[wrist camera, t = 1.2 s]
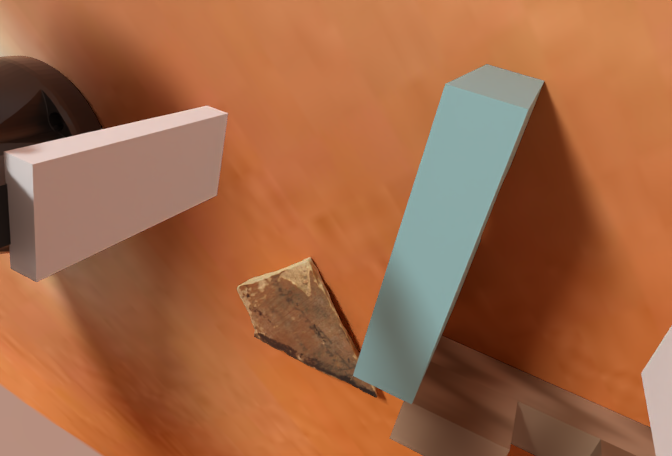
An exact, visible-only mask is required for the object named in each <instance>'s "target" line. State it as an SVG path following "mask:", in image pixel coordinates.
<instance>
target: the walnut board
mask: <svg viewBox="0 0 672 456" xmlns="http://www.w3.org/2000/svg"><path fill="white" fill-rule="evenodd" d="M390 439H392V440H394V441H396V442H398V443H400V444H402V445H404V446H406V447H408V448H410V449H412V450H413V451H415V452H417V453H419V454H421V455H423V456H507V454H508V453H509V451H510V446H511V444H513V445H515V446H517V447H519V448H521V449H523V450H525V451H527V452H529V453H531V454H533V455H535V456H656V454H655V448H654V443H653V437H652V431H651V428H650V427H648V426H645V425H643V424H641V423H639V422H636V421H634V420H632V419H630V418H627V417H625V416H623V415H620V414H618V413H616V412H614V411H611V410H609V409H607V408H605V407H602V406H600V405H598V404H596V403H593V402H591V401H589V400H587V399H584V398H582V397H580V396H577V395H575V394H573V393H571V392H568V391H566V390H564V389H562V388H559V387H557V386H555V385H553V384H550V383H548V382H546V381H544V380H541V379H539V378H537V377H534V376H532V375H530V374H528V373H525V372H523V371H521V370H519V369H516V368H514V367H512V366H510V365H507V364H505V363H503V362H501V361H498V360H496V359H494V358H491V357H489V356H487V355H485V354H482V353H480V352H478V351H476V350H473V349H471V348H469V347H467V346H464V345H462V344H460V343H458V342H455V341H453V340H451V339H448V338H446V337H444V336H441V338H440V340H439V343H438V345H437V347H436V350H435V352H434V354H433V356H432V359H431V361H430V363H429V366H428V368H427V370H426V373H425V375H424V377H423V380H422V382H421V384H420V386H419V389H418V391H417V393H416V396H415V398H414V400H413V403H412V404H410V403H408V402H406V401H404V402H403V405H402V407H401V410H400V413H399V415H398V418H397V420H396V423H395V425H394V428H393V431H392V433H391V436H390Z"/></svg>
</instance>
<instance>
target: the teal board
mask: <svg viewBox="0 0 672 456" xmlns="http://www.w3.org/2000/svg"><path fill="white" fill-rule="evenodd" d="M543 83H544V81H543V80H539V79H536V78H532V77H529V76H525V75H522V74H519V73H515V72H512V71H508V70H505V69H501V68H498V67H494V66H491V65H488V64H486V65H484V66H482V67H480V68H478V69H476V70H474V71H472V72H470V73H467V74H465V75H463V76H461V77H459V78H457V79H455V80H453V81H451V82H448V83H446V84H445V87H444V90H443V93H442V96H441V100H440V103H439V106H438V109H437V112H436V115H435V119H434V122H433V125H432V128H431V131H430V134H429V137H428V141H427V144H426V147H425V150H424V153H423V156H422V160H421V163H420V166H419V169H418V172H417V175H416V178H415V182H414V185H413V188H412V191H411V194H410V197H409V200H408V204H407V207H406V210H405V213H404V216H403V219H402V223H401V226H400V229H399V232H398V235H397V238H396V241H395V245H394V248H393V251H392V254H391V257H390V260H389V263H388V267H387V270H386V273H385V276H384V279H383V282H382V286H381V289H380V292H379V295H378V298H377V301H376V304H375V308H374V311H373V314H372V317H371V320H370V323H369V327H368V330H367V333H366V336H365V339H364V342H363V345H362V349H361V352H360V355H359V358H358V361H357V364H356V367H355V371H354V374H353V376H354V377H356V378H358V379H360V380H362V381H364V382H367V383H369V384H371V385H373V386H375V387H377V388H379V389H381V390H383V391H385V392H387V393H389V394H391V395H393V396H395V397H397V398H399V399H401V400H404V401H406V402H408V403H410V404H412V403H413V400H414V398H415V396H416V393H417V391H418V389H419V386H420V384H421V382H422V380H423V377H424V375H425V373H426V370H427V368H428V366H429V363H430V361H431V359H432V356H433V354H434V352H435V350H436V347H437V345H438V343H439V340H440V338H441V336H442V333H443V331H444V329H445V326H446V324H447V322H448V320H449V317H450V315H451V313H452V310H453V308H454V306H455V303H456V301H457V298H458V296H459V293H460V291H461V288H462V286H463V283H464V281H465V278H466V276H467V273H468V271H469V268H470V266H471V263H472V261H473V258H474V256H475V253H476V251H477V248H478V246H479V243H480V241H481V239H480V238H481V236H482V233H483V231H484V228H485V226H486V223H487V221H488V218H489V216H490V213H491V211H492V208H493V206H494V203H495V201H496V198H497V195H498V193H499V190H500V188H501V185H502V183H503V181H504V179H505V177H506V175H507V172H508V170H509V168H510V166H511V163H512V161H513V158H514V156H515V153H516V151H517V148H518V146H519V143H520V141H521V138H522V136H523V133H524V131H525V128H526V126H527V123H528V121H529V118H530V116H531V113H532V111H533V108H534V106H535V103H536V101H537V98H538V96H539V93H540V91H541V88H542V86H543Z"/></svg>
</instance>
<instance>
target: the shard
mask: <svg viewBox="0 0 672 456" xmlns="http://www.w3.org/2000/svg"><path fill="white" fill-rule="evenodd" d="M237 291H238V293H239V295H240V298H241V299H242V301H243V303H244V305H245V307H246V309H247V310H248V312H249V315H250V317H251V321H252V323H253V327H254V329H255V333H254V337H256V338H258V339H260V340H261V341H262V342H264V343H267V344H268V345H270V346H271V347H273V348H275V349H277V350H281V351H284V352H285V353H286V354H288V355H289V356H291V357H293V358H295V359H297V360H299V361H301V362H303V363H304V364H306V365H308V366H310V367H312V368H315V369H317V370H319V371H321V372H323V373H325V374H327V375H330V376H332V377H335V378H337V379H339V380H342V381H345V382H347V383H349V384H352V385H353V386H354V387H356V388H359V389H360V390H362V391H363V392H365V393H368V394H370V395H372V396H374V397H378V395H377V389H376V387H375V386H373V385H371V384H369V383H367V382H364V381H362V380H360V379H358V378H356V377H354V376H353V374H354V371H355V367H356V364H357V361H358V358H359V355H360V353H359V352H358V350H357V349H356V347H355V345H354V343H353V341H352V339H351V337H350V336H349V334H348V332H347V330H346V328H345V327H344V326H343V324H342V322H341V320H340V318H339V316H338V314H337V312H336V309H335V307H334V305H333V303H332V301H331V299H330V295H329V292H328V291H327V289H326V288H325V285H324V283H323V281H322V279H321V276H320V274H319V270H318V268H317V267H316V266H315V265H314V263H313V261H312V258H311V257H309V258H307V259H304V260H302V261H300V262H298V263H295V264H293V265H290V266H288V267H286V268H283V269H280V270H278V271H275V272H270V273H266V274H264V275H261V276H258V277H253V278H251V279H249V280H248V281H246V282H244V283H242V284H240V285H239V286H238V287H237Z"/></svg>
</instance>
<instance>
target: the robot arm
mask: <svg viewBox="0 0 672 456" xmlns="http://www.w3.org/2000/svg"><path fill="white" fill-rule="evenodd" d="M227 117H228V113H226V112H223V111H220V110H218V109H215V108H212V107H209V106H203V107H199V108H194V109H190V110H185V111H181V112H177V113H172V114H168V115H163V116H159V117H154V118H150V119H146V120H141V121H137V122H132V123H128V124H124V125H119V126H115V127H110V128H106V129H101V126H100V124H99V122H98V120H97V118H96V116H95V114H94V113H93V111H92V109H91V107H90V106H89V104H88V103H87V101H86V100H85V98H84V97H83V96H82V94H81V93H80V92H79V91H78V90H77V88H76V87H75V86H74V85H73V84H72V83H71V82H70V81H69V80H68V79H67V78H66V77H65V76H64V75H62V74H61V73H60V72H59V71H57V70H56V69H54V68H53V67H51V66H50V65H48V64H46V63H44V62H42V61H40V60H37V59H34V58H31V57H26V56H6V57H0V254H4V253H10V264H11V269H13V270H15V271H16V272H18V273H20V274H22V275H24V276H26V277H28V278H30V279H32V280H33V281H35V282H38V281H40V280H42V279H44V278H46V277H48V276H50V275H52V274H54V273H57V272H59V271H61V270H63V269H65V268H67V267H69V266H71V265H73V264H75V263H77V262H79V261H82V260H84V259H86V258H88V257H90V256H92V255H94V254H96V253H98V252H100V251H102V250H104V249H106V248H109V247H111V246H113V245H115V244H117V243H119V242H121V241H123V240H125V239H127V238H129V237H131V236H134V235H136V234H138V233H140V232H142V231H144V230H146V229H148V228H150V227H152V226H154V225H156V224H159V223H161V222H163V221H165V220H167V219H169V218H171V217H173V216H175V215H177V214H179V213H181V212H184V211H186V210H188V209H190V208H192V207H194V206H196V205H198V204H200V203H202V202H204V201H206V200H209V199H211V198H213V197H215V196H217V191H218V183H219V176H220V169H221V161H222V154H223V147H224V139H225V132H226V125H227ZM641 375H642V380H643V386H644V392H645V397H646V403H647V409H648V414H649V420H650V426H651V431H652V437H653V443H654V448H655V454H656V456H672V326H671V327H670V329H669V331H668V332H667V334H666V335H665V337H664V338H663V340H662V342H661V343H660V345H659V346H658V348H657V349H656V351H655V353H654V354H653V356H652V357H651V359H650V360H649V362H648V363H647V365H646V367H645V368H644V370H643V371H642V373H641Z"/></svg>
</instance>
